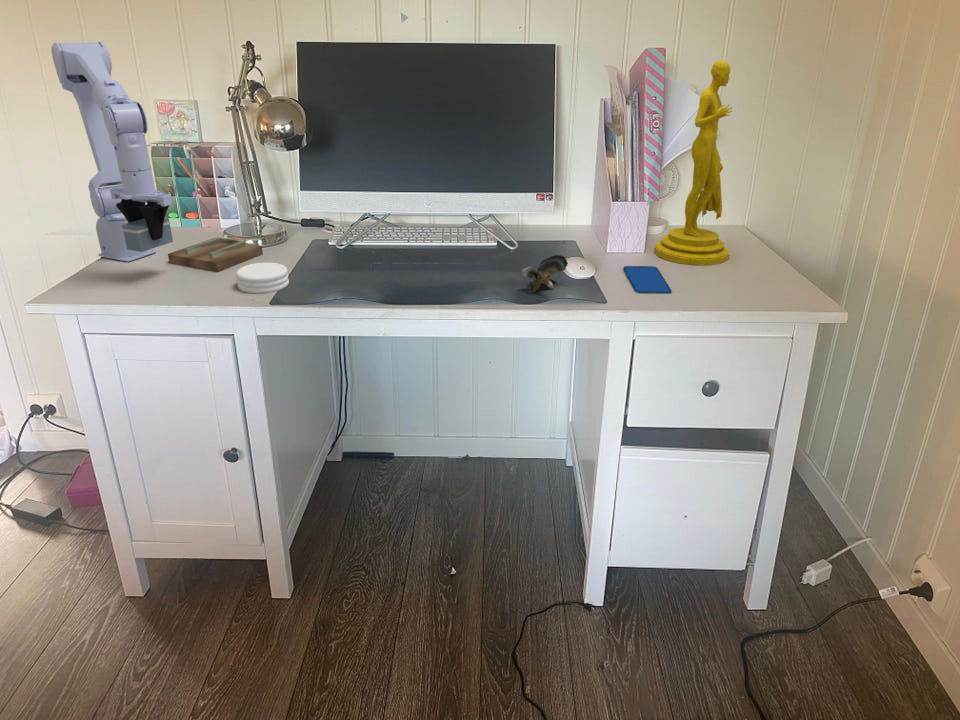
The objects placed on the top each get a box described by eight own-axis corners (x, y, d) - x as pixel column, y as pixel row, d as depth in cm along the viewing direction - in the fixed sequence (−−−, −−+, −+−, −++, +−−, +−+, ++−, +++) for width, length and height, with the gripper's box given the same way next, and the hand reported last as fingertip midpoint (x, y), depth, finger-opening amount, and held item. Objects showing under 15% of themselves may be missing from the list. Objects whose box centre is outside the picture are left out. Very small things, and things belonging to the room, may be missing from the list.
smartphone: (635, 291, 139) (622, 265, 152) (635, 296, 140) (621, 270, 153) (673, 292, 139) (656, 266, 152) (672, 296, 140) (655, 270, 153)
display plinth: (169, 262, 154) (166, 249, 153) (216, 246, 166) (214, 233, 165) (218, 271, 149) (215, 258, 148) (262, 254, 161) (261, 241, 159)
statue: (719, 270, 153) (753, 63, 135) (644, 257, 160) (666, 60, 142) (736, 250, 166) (768, 60, 148) (665, 239, 173) (688, 57, 155)
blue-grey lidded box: (126, 249, 141) (121, 224, 138) (159, 239, 147) (154, 215, 145) (141, 252, 139) (136, 227, 137) (173, 241, 146) (169, 217, 143)
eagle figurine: (560, 292, 136) (576, 271, 143) (541, 262, 134) (557, 242, 141) (530, 305, 141) (547, 284, 147) (511, 276, 139) (528, 256, 146)
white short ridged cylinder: (230, 284, 143) (228, 267, 142) (277, 274, 149) (275, 258, 147) (249, 298, 136) (246, 281, 134) (297, 287, 141) (295, 271, 140)
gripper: (91, 169, 136) (106, 237, 142) (145, 176, 130) (159, 247, 136) (121, 163, 142) (135, 229, 148) (175, 169, 136) (187, 238, 142)
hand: (149, 237), depth 142 cm, fingers closed on blue-grey lidded box, 4 cm apart
